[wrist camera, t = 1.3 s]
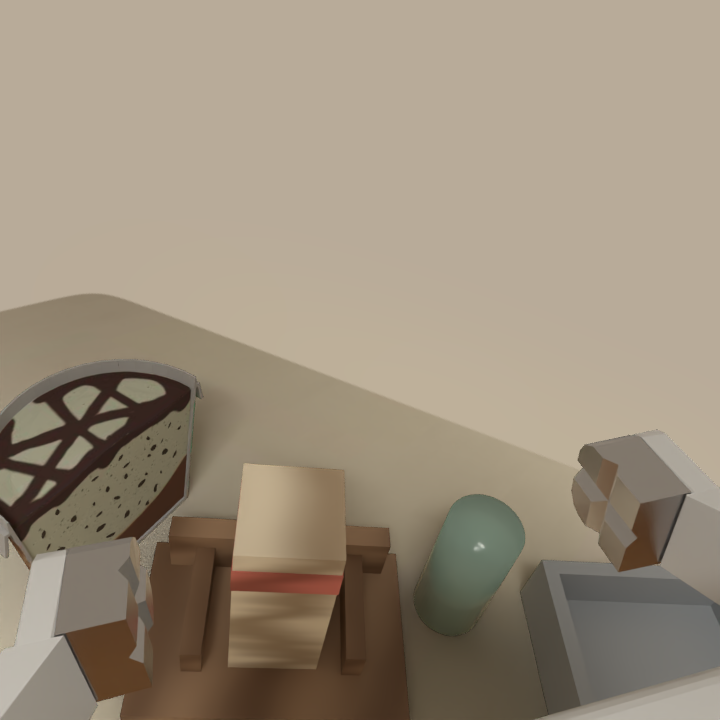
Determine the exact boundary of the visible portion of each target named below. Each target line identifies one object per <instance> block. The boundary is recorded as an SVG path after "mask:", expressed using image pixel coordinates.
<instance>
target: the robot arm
mask: <svg viewBox="0 0 720 720" xmlns="http://www.w3.org/2000/svg"><path fill="white" fill-rule="evenodd" d="M578 461H579V463H580V464H581V466H582V467H583V468H582V469H581V470H580V471H579V472H578V473H577V475H576V476H575V477H574V479H573V484H572V490H571V491H572V497H573V503H574V506H575V508H576V511H577V513H578V515H579V517H580V518H581V520H582V521H583V523H584V524H585V526H587V527H589V528H591V529H593V530H594V531H596V532H598V533H599V542H598V544H599V546H600V547H601V549H602V550H603V551H604V553H605V554H606V556H607V557H608V559H609V560H610V561H611V563H612V564H613V566H614V567H615V568H616V570H617V571H618V572H623V571H627V570H632V569H637V568H641V567H646V566H651V565H655V564H660V563H661V564H660V566H661V567H662V568H664V569H665V570H667V571H668V572H670V573H671V574H673V575H674V576H676V577H677V578H679V579H681V580H682V581H684V582H685V583H687V584H688V585H690V586H691V587H693V588H694V589H696V590H697V591H699V592H700V593H702V594H703V595H705V596H706V597H708V598H709V599H711V600H712V601H714V602H715V603H717V604H718V605H720V487H718V486H717V485H716V484H715V483H714V482H713V481H712V480H711V479H710V478H709V477H708V476H707V475H706V474H705V473H704V472H703V471H702V470H701V469H700V468H699V467H698V466H697V465H696V464H695V463H694V462H693V461H692V460H691V459H690V458H689V457H688V456H687V455H686V454H685V453H684V452H683V451H682V450H681V449H680V448H679V447H678V446H677V445H676V444H675V443H674V442H673V441H672V440H671V439H670V438H669V437H668V436H667V435H666V434H665V433H664V432H662V431H660V430H653V431H648V432H643V433H639V434H634V435H628V436H623V437H618V438H614V439H609V440H605V441H600V442H595V443H590V444H586V445H584V446H583V447H582V449H581V450H580V453H579V458H578ZM153 624H154V608H153V597H152V589H151V584H150V579H149V575H148V572H147V569H146V568H145V567H143V566H141V565H140V548H139V546H138V543H137V540H136V538H135V537H128V538H123V539H117V540H112V541H106V542H100V543H95V544H89V545H83V546H78V547H72V548H69V549H64V550H58V551H53V552H47V553H42V554H37V555H36V557H35V559H34V560H33V562H32V564H31V568H30V573H29V578H28V583H27V587H26V592H25V597H24V602H23V606H22V611H21V616H20V621H19V625H18V630H17V635H16V640H15V644H14V646H12V647H8V648H4V649H3V650H2V651H1V653H0V720H90V718H91V716H92V715H93V713H94V711H95V709H96V708H97V706H98V705H97V702H99V701H102V700H106V699H110V698H113V697H117V696H121V695H124V694H128V693H132V692H135V691H139V690H143V689H146V688H150V687H152V679H153V647H152V644H151V641H150V638H149V635H148V631H149V630H150V628H151V627H152V626H153ZM533 720H720V667H716V668H713V669H709V670H706V671H702V672H699V673H695V674H692V675H688V676H685V677H681V678H678V679H674V680H671V681H667V682H664V683H660V684H657V685H653V686H650V687H646V688H642V689H639V690H635V691H632V692H628V693H625V694H621V695H618V696H614V697H611V698H607V699H604V700H600V701H597V702H593V703H590V704H586V705H583V706H579V707H576V708H572V709H569V710H565V711H562V712H558V713H555V714H551V715H547V716H544V717H540V718H537V719H533Z"/></svg>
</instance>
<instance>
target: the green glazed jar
mask: <svg viewBox="0 0 720 720" xmlns="http://www.w3.org/2000/svg"><path fill="white" fill-rule="evenodd" d="M524 544H525V532H524V528H523V525H522V523H521V521H520V519H519V517H518V516H517V515H516V513H515V512H514V511H513V510H512V509H511V508H510V507H509V506H507V505H506V504H505V503H503V502H501V501H500V500H498V499H496V498H493V497H490V496H486V495H480V494H474V495H468V496H465V497H462V498H460V499H459V500H457V501H456V502H455V503H454V504H453V505H452V507H451V509H450V511H449V513H448V515H447V517H446V520H445V522H444V524H443V526H442V529H441V531H440V533H439V535H438V538H437V540H436V542H435V544H434V547H433V549H432V551H431V553H430V556H429V558H428V560H427V562H426V565H425V567H424V569H423V571H422V574H421V576H420V578H419V580H418V582H417V585H416V587H415V590H414V605H415V608H416V611H417V613H418V615H419V617H420V618H421V619H422V621H423V622H424V623H425V624H426V625H427V626H428V627H430V628H431V629H432V630H434V631H436V632H438V633H440V634H443V635H448V636H457V635H462V634H465V633H466V632H468V631H470V630H471V629H472V628H473V627H474V626H475V624H476V623H477V621H478V620H479V618H480V617H481V615H482V613H483V612H484V610H485V609H486V607H487V605H488V604H489V602H490V601H491V599H492V598H493V596H494V594H495V593H496V591H497V590H498V588H499V586H500V585H501V583H502V582H503V580H504V578H505V577H506V575H507V574H508V572H509V570H510V569H511V567H512V566H513V564H514V562H515V561H516V559H517V558H518V556H519V554H520V553H521V551H522V549H523V547H524Z"/></svg>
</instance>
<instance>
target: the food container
mask: <svg viewBox="0 0 720 720" xmlns="http://www.w3.org/2000/svg"><path fill="white" fill-rule="evenodd" d="M195 397H198V398H200V399H202V398H203V394H202V390H201V386H200V383H199V382H197V381H196V376H194V375H192V374H190V373H188V372H186V371H184V370H181V369H179V368H176V367H173V366H170V365H167V364H162V363H158V362H154V361H146V360H138V359H114V360H103V361H96V362H91V363H86V364H81V365H78V366H75V367H71V368H68V369H65V370H62V371H60V372H58V373H55V374H53V375H50V376H48V377H46V378H44V379H43V380H41V381H39V382H37V383H35V384H34V385H32V386H30V387H29V388H28V389H26V390H25V391H23V392H22V393H21V394H19V395H18V396H17V397H16V398H14V399H13V400H12V401H11V402H10V403H9V404H8V405H7V406H6V407H5V408H4V409H3V410H2V411H1V413H0V554H1V555H2V556H3V557H4V558H5V559H6V558H8V557H9V545H8V538H9V539H10V541H11V542H12V544H13V546H14V547H15V549H16V550H17V552H18V553H19V555H20V556H21V558H22V559H23V561H24V562H25V564H26V566H27V567H28V569H29V570H30V568H31V564H32V562H33V560H34V559H35V557H36V555H37V554H42V553H47V552H53V551H58V550H64V549H69V548H72V547H78V546H83V545H89V544H95V543H100V542H106V541H112V540H117V539H123V538H128V537H135V538H136V540H137V543H138V544H139V543H140V542H142V541H143V540H144V539H145V538H146V537H147V536H148V535H149V534H150V533H151V532H152V531H153V530H154V529H155V528H156V527H157V526H158V525H159V524H160V523H162V522H163V521H164V520H165V519H166V518H167V517H168V516H169V515H170V514H171V513H172V512H173V511H174V510H175V509H176V508H177V507H178V506H179V505H180V504H182V503H183V502H184V501H185V500H186V499H187V498H188V487H189V475H190V462H191V449H192V436H193V423H194V410H195Z"/></svg>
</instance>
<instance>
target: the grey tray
mask: <svg viewBox="0 0 720 720" xmlns="http://www.w3.org/2000/svg"><path fill="white" fill-rule="evenodd" d="M520 593H521V597H522V601H523V606H524V610H525V614H526V619H527V623H528V627H529V632H530V636H531V641H532V645H533V649H534V654H535V658H536V662H537V667H538V671H539V675H540V680H541V684H542V688H543V693H544V697H545V701H546V706H547V710H548V714H549V715H551V714H555V713H558V712H562V711H565V710H569V709H572V708H576V707H579V706H583V705H586V704H590V703H593V702H597V701H600V700H604V699H607V698H611V697H614V696H618V695H621V694H625V693H628V692H632V691H635V690H639V689H642V688H646V687H650V686H653V685H657V684H660V683H664V682H667V681H671V680H674V679H678V678H681V677H685V676H688V675H692V674H695V673H699V672H702V671H706V670H709V669H713V668H716V667H720V605H718V604H717V603H715V602H714V601H712V600H711V599H709V598H708V597H706V596H705V595H703V594H702V593H700V592H699V591H697V590H696V589H694V588H693V587H691V586H690V585H688V584H687V583H685V582H684V581H682V580H681V579H679V578H677V577H676V576H674V575H673V574H671V573H670V572H668V571H667V570H665V569H664V568H662V567H661V566H655V565H651V566H646V567H641V568H637V569H632V570H627V571H623V572H618V571H617V570H616V568H615V567H614V566H613V564H612V563H594V562H574V561H554V560H542V561H541V562H540V564H539V565H538V567H537V568H536V570H535V571H534V573H533V574H532V576H531V577H530V578H529V580H528V581H527V583H526V584H525V586H524V587H523V589H522V590H521V592H520Z"/></svg>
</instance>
